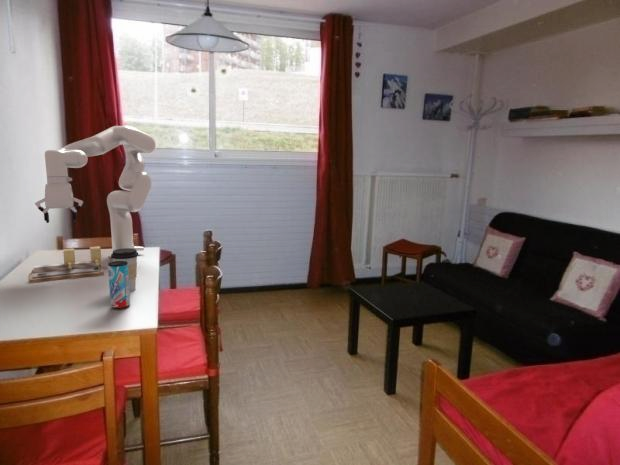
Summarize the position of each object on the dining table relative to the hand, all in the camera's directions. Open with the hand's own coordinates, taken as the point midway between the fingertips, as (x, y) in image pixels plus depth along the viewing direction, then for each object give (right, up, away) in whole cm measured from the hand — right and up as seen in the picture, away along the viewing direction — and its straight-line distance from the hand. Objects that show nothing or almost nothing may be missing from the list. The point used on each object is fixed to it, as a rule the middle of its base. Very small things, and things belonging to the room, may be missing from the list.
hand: (61, 221), depth 182 cm
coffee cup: (+36, -26, -20) cm, 48 cm away
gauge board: (+3, -22, -1) cm, 22 cm away
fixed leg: (+12, -18, +5) cm, 23 cm away
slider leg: (+4, -19, 0) cm, 19 cm away
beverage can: (+41, -29, -37) cm, 63 cm away
